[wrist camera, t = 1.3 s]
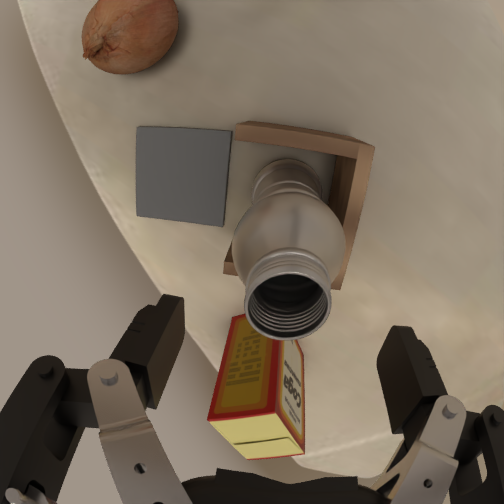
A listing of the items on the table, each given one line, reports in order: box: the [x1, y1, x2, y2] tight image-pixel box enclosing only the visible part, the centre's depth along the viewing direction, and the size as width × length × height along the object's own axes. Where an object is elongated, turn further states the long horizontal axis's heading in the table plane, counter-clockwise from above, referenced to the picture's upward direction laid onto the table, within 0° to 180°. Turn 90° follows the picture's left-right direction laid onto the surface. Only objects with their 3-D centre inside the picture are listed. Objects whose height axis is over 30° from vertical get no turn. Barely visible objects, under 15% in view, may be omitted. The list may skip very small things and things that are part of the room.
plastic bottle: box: [232, 159, 346, 341], centre depth 21 cm, size 6×7×20 cm
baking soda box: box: [207, 314, 305, 460], centre depth 32 cm, size 10×6×16 cm
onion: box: [82, 0, 179, 74], centre depth 20 cm, size 10×9×10 cm
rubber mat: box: [136, 127, 232, 227], centre depth 30 cm, size 10×10×1 cm
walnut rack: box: [223, 121, 375, 290], centre depth 26 cm, size 12×10×8 cm
